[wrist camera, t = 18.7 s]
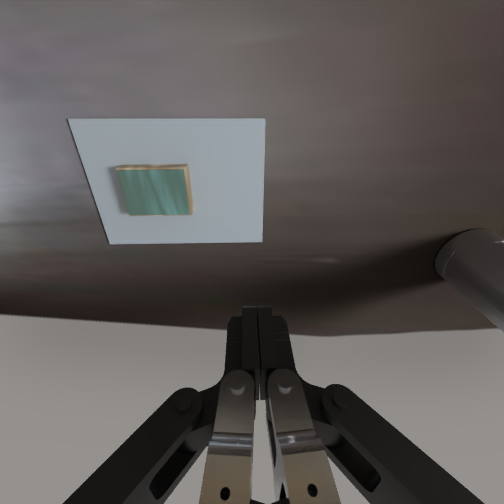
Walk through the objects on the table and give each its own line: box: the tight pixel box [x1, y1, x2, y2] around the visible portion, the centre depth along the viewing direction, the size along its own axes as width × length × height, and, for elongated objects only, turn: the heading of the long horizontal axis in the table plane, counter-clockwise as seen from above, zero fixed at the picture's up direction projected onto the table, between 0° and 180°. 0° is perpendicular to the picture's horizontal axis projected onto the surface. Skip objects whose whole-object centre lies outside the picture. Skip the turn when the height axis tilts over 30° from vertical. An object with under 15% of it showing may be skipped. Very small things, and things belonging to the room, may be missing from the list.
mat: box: [68, 118, 265, 244], centre depth 33 cm, size 22×16×1 cm
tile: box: [116, 164, 194, 216], centre depth 31 cm, size 2×6×8 cm
